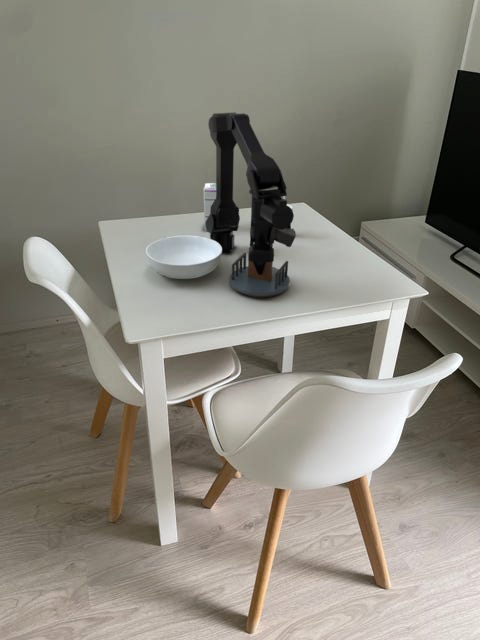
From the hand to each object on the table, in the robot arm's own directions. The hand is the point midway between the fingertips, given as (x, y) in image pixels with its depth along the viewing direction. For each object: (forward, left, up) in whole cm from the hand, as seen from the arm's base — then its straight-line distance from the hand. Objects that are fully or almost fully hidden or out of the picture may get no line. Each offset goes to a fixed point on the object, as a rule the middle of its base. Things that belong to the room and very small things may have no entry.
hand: (260, 272), depth 137 cm
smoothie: (-2, +37, -4) cm, 37 cm away
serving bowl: (-22, +2, -4) cm, 23 cm away
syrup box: (-25, +36, -4) cm, 44 cm away
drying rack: (0, +1, -3) cm, 3 cm away
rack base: (0, 0, -4) cm, 4 cm away
